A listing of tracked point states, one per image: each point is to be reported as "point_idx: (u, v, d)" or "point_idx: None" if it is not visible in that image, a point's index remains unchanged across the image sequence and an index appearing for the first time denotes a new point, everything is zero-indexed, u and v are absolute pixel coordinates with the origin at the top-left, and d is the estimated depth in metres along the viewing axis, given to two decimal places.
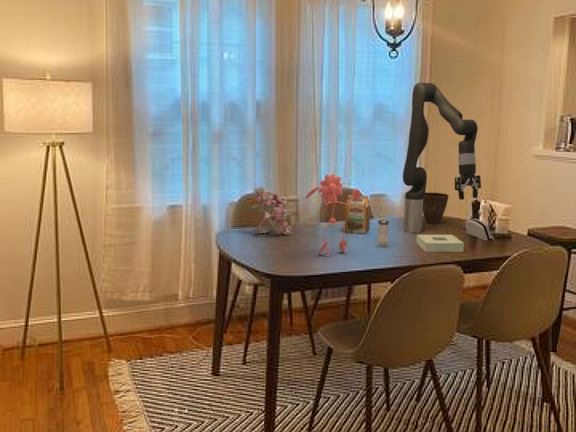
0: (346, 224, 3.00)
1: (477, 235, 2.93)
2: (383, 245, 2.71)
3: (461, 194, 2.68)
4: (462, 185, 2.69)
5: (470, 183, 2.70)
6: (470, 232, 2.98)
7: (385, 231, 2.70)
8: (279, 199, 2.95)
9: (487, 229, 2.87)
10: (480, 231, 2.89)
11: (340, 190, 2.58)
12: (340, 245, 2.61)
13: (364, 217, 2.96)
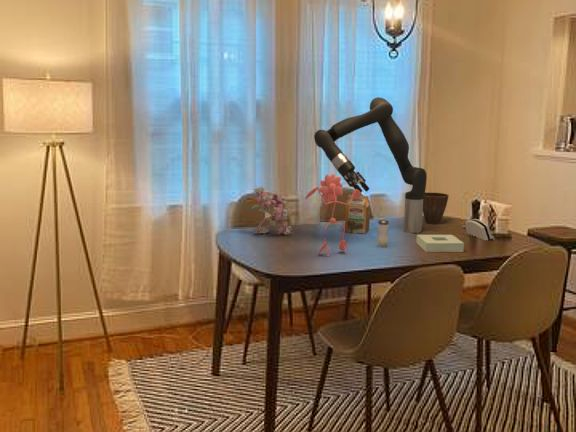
0: (346, 224, 3.00)
1: (478, 236, 2.93)
2: (383, 245, 2.71)
3: None
4: None
5: None
6: (471, 232, 2.98)
7: (385, 231, 2.70)
8: (279, 199, 2.95)
9: (488, 229, 2.87)
10: (481, 231, 2.88)
11: (340, 190, 2.58)
12: (340, 245, 2.61)
13: (364, 217, 2.96)
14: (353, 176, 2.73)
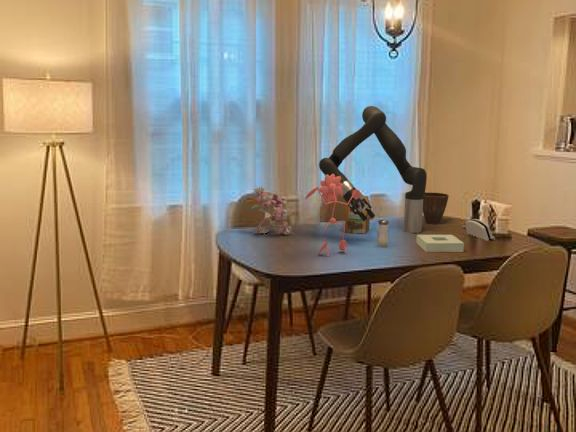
0: (346, 224, 3.00)
1: (478, 236, 2.92)
2: (383, 245, 2.71)
3: None
4: None
5: None
6: (471, 232, 2.98)
7: (385, 231, 2.70)
8: (279, 199, 2.95)
9: (488, 229, 2.87)
10: (481, 231, 2.88)
11: (340, 190, 2.58)
12: (340, 245, 2.61)
13: None
14: (358, 203, 2.74)
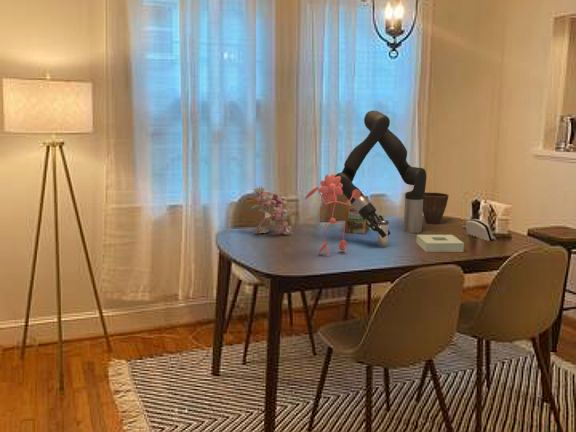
0: (346, 224, 3.00)
1: (479, 236, 2.92)
2: (383, 245, 2.71)
3: None
4: None
5: None
6: (471, 232, 2.97)
7: (385, 231, 2.70)
8: (279, 199, 2.95)
9: (489, 229, 2.87)
10: (482, 231, 2.88)
11: (340, 190, 2.58)
12: (340, 245, 2.61)
13: None
14: (375, 220, 2.71)
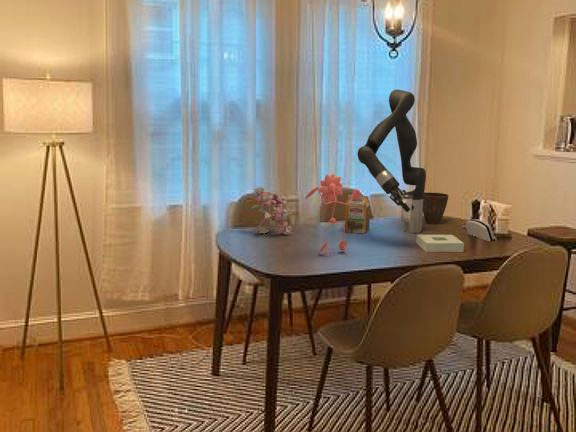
0: (346, 224, 3.00)
1: (480, 236, 2.92)
2: (407, 219, 2.69)
3: None
4: None
5: None
6: (472, 233, 2.97)
7: (409, 205, 2.68)
8: (279, 199, 2.95)
9: (490, 230, 2.86)
10: (483, 232, 2.87)
11: (340, 190, 2.58)
12: (340, 245, 2.61)
13: (364, 217, 2.96)
14: (398, 194, 2.69)
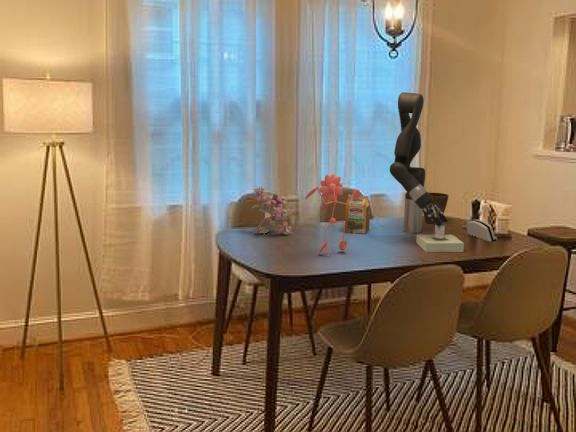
0: (346, 224, 3.00)
1: (480, 236, 2.91)
2: None
3: None
4: (436, 212, 2.75)
5: None
6: (472, 233, 2.96)
7: (442, 232, 2.69)
8: (279, 199, 2.95)
9: (491, 230, 2.86)
10: (484, 232, 2.87)
11: (340, 190, 2.58)
12: (340, 245, 2.61)
13: (364, 217, 2.96)
14: (432, 208, 2.69)
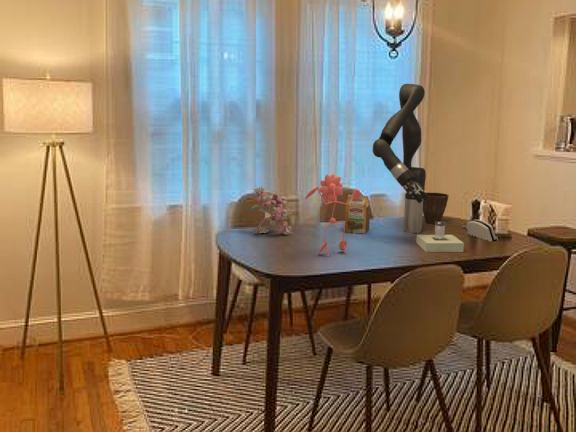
0: (346, 224, 3.00)
1: (481, 236, 2.91)
2: None
3: None
4: None
5: None
6: (473, 233, 2.96)
7: (442, 232, 2.69)
8: (279, 199, 2.95)
9: (492, 230, 2.86)
10: (485, 232, 2.87)
11: (340, 190, 2.58)
12: (340, 245, 2.61)
13: (364, 217, 2.96)
14: (413, 185, 2.72)
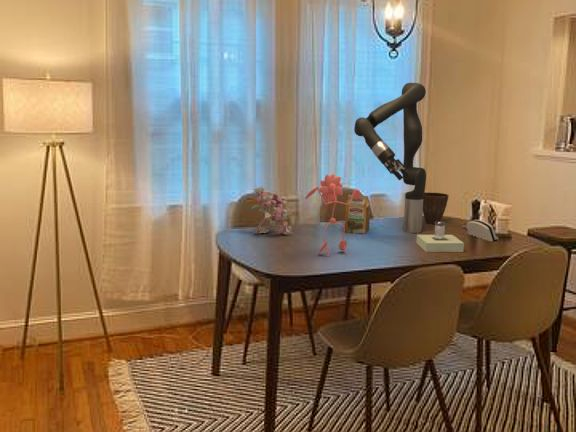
0: (346, 224, 3.00)
1: (481, 236, 2.91)
2: None
3: None
4: None
5: None
6: (473, 233, 2.96)
7: (442, 232, 2.69)
8: (279, 199, 2.95)
9: (492, 230, 2.85)
10: (485, 232, 2.86)
11: (340, 190, 2.58)
12: (340, 245, 2.61)
13: (364, 217, 2.96)
14: (393, 163, 2.77)
